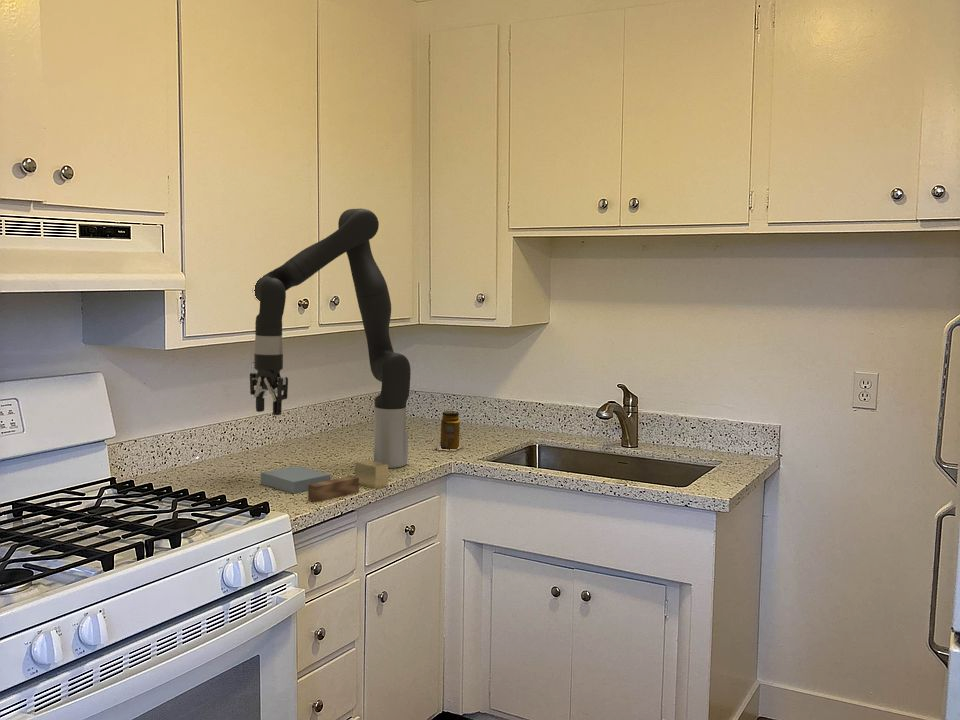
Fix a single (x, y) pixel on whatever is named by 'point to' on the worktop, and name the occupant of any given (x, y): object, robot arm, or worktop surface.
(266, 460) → the worktop surface
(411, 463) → the worktop surface
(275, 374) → the robot arm
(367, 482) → the block
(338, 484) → the block
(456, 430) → the condiment
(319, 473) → the flat grey square tile
